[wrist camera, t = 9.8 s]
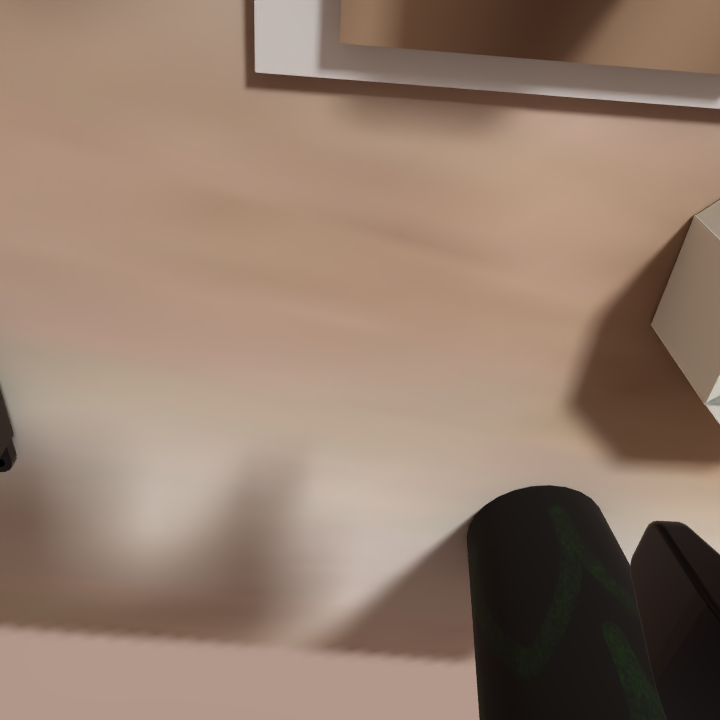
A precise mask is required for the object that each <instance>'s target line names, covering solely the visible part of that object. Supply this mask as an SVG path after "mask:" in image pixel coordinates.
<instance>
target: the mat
mask: <svg viewBox="0 0 720 720" xmlns="http://www.w3.org/2000/svg"><path fill="white" fill-rule="evenodd" d="M340 15H341V0H254V26H255V72H256V73H269V74H282V75H294V76H307V77H320V78H333V79H346V80H358V81H371V82H384V83H397V84H409V85H422V86H435V87H448V88H460V89H473V90H486V91H499V92H512V93H524V94H537V95H550V96H563V97H575V98H588V99H601V100H614V101H626V102H639V103H652V104H665V105H678V106H690V107H703V108H716V109H720V74H709V73H697V72H685V71H672V70H660V69H648V68H636V67H623V66H611V65H599V64H586V63H574V62H562V61H550V60H537V59H525V58H513V57H501V56H488V55H476V54H464V53H452V52H439V51H427V50H415V49H402V48H390V47H378V46H366V45H353V44H341V43H339V33H340Z"/></svg>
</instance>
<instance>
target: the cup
mask: <svg viewBox="0 0 720 720" xmlns="http://www.w3.org/2000/svg"><path fill="white" fill-rule="evenodd" d="M467 547H468V561H469V575H470V590H471V604H472V618H473V632H474V646H475V661H476V675H477V689H478V702H479V717H480V720H666V719H665V716H664V713H663V710H662V707H661V703H660V700H659V697H658V694H657V690H656V687H655V684H654V680H653V675H652V671H651V667H650V663H649V658H648V653H647V649H646V644H645V639H644V635H643V630H642V625H641V621H640V616H639V611H638V607H637V602H636V597H635V593H634V588H633V583H632V579H631V572H630V564H629V562H628V561H627V559H626V557H625V555H624V553H623V551H622V549H621V547H620V546H619V544H618V542H617V540H616V538H615V536H614V534H613V532H612V531H611V529H610V527H609V525H608V523H607V521H606V519H605V518H604V516H603V514H602V512H601V510H600V508H599V507H598V506H597V505H596V503H595V502H594V501H593V500H592V499H591V498H589V497H588V496H586V495H584V494H583V493H581V492H579V491H576V490H572V489H569V488H566V487H558V486H534V487H528V488H523V489H519V490H515V491H512V492H510V493H507V494H505V495H502V496H500V497H498V498H496V499H495V500H493V501H492V502H490V503H489V504H487V505H486V506H484V507H483V508H482V509H481V510H480V511H479V512H478V513H477V514H476V515H475V517H474V519H473V520H472V522H471V524H470V526H469V529H468V534H467Z"/></svg>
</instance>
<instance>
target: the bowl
mask: <svg viewBox="0 0 720 720" xmlns="http://www.w3.org/2000/svg"><path fill="white" fill-rule="evenodd" d="M651 326H652V328H653V329H654V331H655V332H656V334H657V335H658V337H659V338H660V340H661V341H662V343H663V344H664V346H665V347H666V349H667V350H668V352H669V353H670V355H671V356H672V357H673V359H674V360H675V362H676V363H677V365H678V366H679V368H680V369H681V371H682V372H683V374H684V375H685V377H686V378H687V380H688V381H689V383H690V384H691V386H692V387H693V389H694V390H695V392H696V393H697V395H698V396H699V398H700V399H701V401H702V402H703V404H704V405H706V406H707V407H708V409H709V410H710V412H711V413H712V414H713V416H714V417H715V419H716V420H717V421H718V423H719V424H720V200H718V201H717V202H715V203H714V204H712V205H711V206H709V207H708V208H706V209H704V210H703V211H701V212H700V213H698V214H697V215H694V217H693V220H692V223H691V225H690V228H689V230H688V233H687V235H686V238H685V240H684V243H683V245H682V248H681V250H680V253H679V255H678V258H677V260H676V263H675V265H674V268H673V270H672V273H671V276H670V278H669V281H668V283H667V286H666V288H665V291H664V293H663V296H662V298H661V301H660V303H659V306H658V308H657V311H656V313H655V316H654V318H653V321H652V323H651Z"/></svg>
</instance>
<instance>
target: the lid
mask: <svg viewBox="0 0 720 720" xmlns="http://www.w3.org/2000/svg"><path fill="white" fill-rule="evenodd" d="M339 43H341V44H353V45H366V46H378V47H390V48H402V49H415V50H427V51H439V52H452V53H464V54H476V55H488V56H501V57H513V58H525V59H537V60H550V61H562V62H574V63H586V64H599V65H611V66H623V67H636V68H648V69H660V70H672V71H685V72H697V73H709V74H720V0H341V15H340V33H339Z"/></svg>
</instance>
